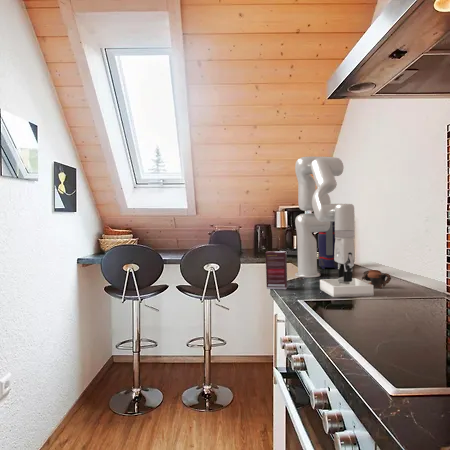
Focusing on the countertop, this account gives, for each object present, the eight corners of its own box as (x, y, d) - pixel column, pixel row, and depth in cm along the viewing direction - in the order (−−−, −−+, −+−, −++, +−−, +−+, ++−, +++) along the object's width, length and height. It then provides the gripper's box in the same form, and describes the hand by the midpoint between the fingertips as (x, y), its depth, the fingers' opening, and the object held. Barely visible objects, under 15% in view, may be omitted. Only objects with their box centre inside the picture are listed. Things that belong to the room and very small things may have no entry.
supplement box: (287, 287, 162) (286, 250, 161) (286, 289, 157) (285, 252, 157) (267, 286, 164) (267, 250, 164) (265, 289, 160) (265, 252, 159)
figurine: (335, 282, 151) (337, 268, 150) (342, 282, 154) (344, 267, 153) (345, 286, 147) (347, 271, 146) (353, 285, 149) (355, 271, 148)
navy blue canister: (319, 266, 223) (318, 215, 222) (339, 266, 220) (339, 215, 219) (318, 269, 210) (318, 216, 209) (341, 270, 207) (340, 215, 206)
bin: (320, 289, 157) (319, 279, 157) (356, 287, 158) (355, 278, 158) (333, 297, 141) (333, 286, 141) (373, 295, 143) (373, 285, 142)
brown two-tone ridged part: (360, 289, 158) (358, 270, 162) (368, 295, 164) (366, 277, 168) (389, 284, 151) (386, 265, 155) (396, 291, 158) (393, 272, 162)
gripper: (327, 233, 157) (328, 276, 158) (343, 236, 140) (344, 284, 141) (345, 233, 158) (345, 276, 159) (363, 235, 141) (363, 283, 142)
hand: (345, 279), depth 150 cm, fingers open, 4 cm apart
